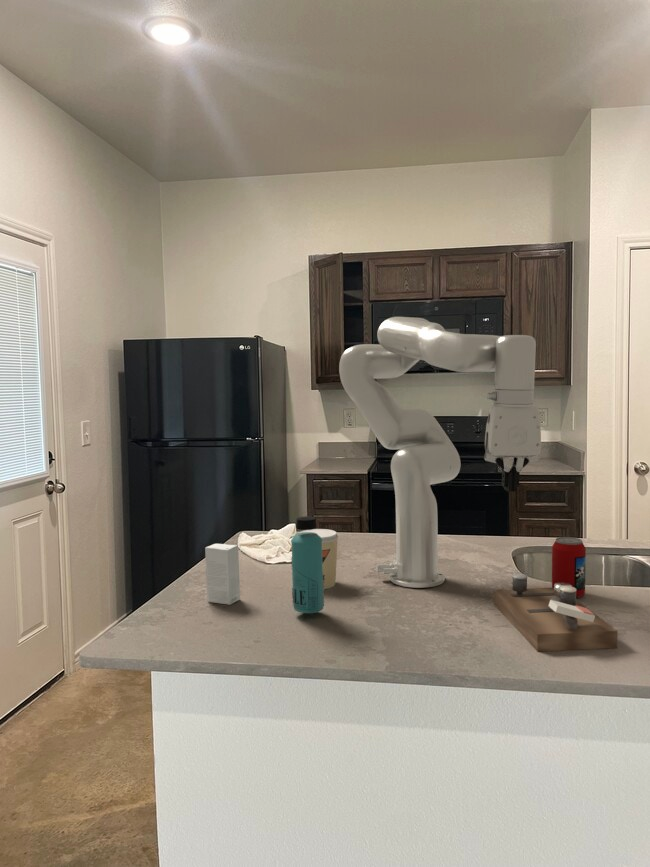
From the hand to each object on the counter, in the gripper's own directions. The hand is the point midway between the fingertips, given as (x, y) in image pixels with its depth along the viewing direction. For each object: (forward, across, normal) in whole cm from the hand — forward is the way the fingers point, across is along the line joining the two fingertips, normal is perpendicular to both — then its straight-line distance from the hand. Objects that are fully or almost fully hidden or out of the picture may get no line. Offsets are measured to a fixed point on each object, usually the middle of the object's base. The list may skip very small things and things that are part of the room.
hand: (510, 490), depth 132 cm
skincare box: (+26, -58, +11) cm, 65 cm away
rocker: (+19, +5, -18) cm, 27 cm away
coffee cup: (+26, -37, +20) cm, 50 cm away
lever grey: (+21, +2, -2) cm, 21 cm away
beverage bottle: (+26, -40, 0) cm, 48 cm away
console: (+24, +5, -10) cm, 26 cm away
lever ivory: (+21, +8, -10) cm, 25 cm away
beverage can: (+24, +16, +7) cm, 30 cm away
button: (+20, +9, -6) cm, 22 cm away
